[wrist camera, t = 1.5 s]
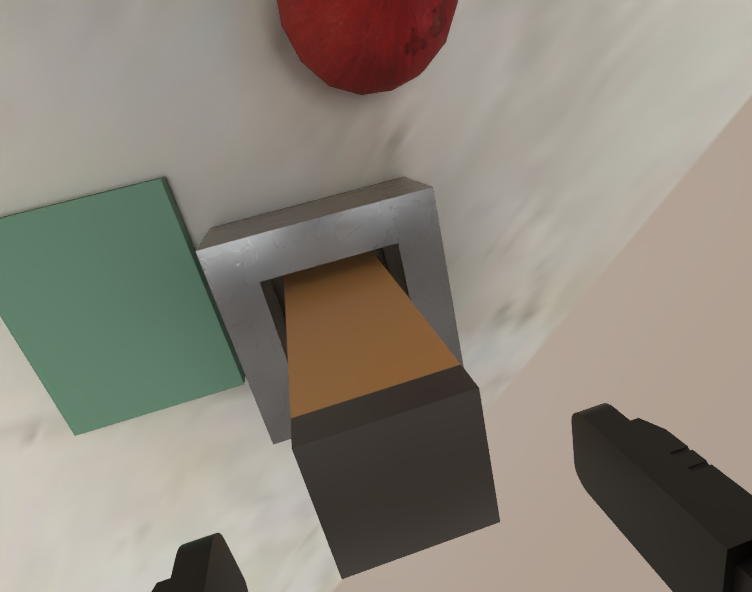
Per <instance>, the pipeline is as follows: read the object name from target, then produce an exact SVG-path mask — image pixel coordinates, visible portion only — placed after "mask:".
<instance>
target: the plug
mask: <svg viewBox="0 0 752 592" xmlns="http://www.w3.org/2000/svg"><path fill="white" fill-rule="evenodd" d="M284 288H285V310H286V331H287V353H288V375H289V397H290V418H291V440H292V450H293V453H294V455H295V458H296V461H297V463H298V466H299V468H300V471H301V474H302V476H303V479H304V482H305V484H306V487H307V489H308V492H309V495H310V497H311V500H312V502H313V505H314V508H315V510H316V513H317V515H318V518H319V521H320V523H321V526H322V528H323V531H324V534H325V536H326V539H327V541H328V544H329V547H330V549H331V552H332V555H333V557H334V560H335V562H336V565H337V568H338V570H339V573H340V575H341V578H342V579H344V578H347V577H349V576H352V575H355V574H358V573H360V572H363V571H366V570H369V569H371V568H374V567H377V566H380V565H382V564H385V563H388V562H391V561H393V560H396V559H399V558H402V557H405V556H407V555H410V554H413V553H416V552H418V551H421V550H424V549H427V548H429V547H432V546H434V545H438V544H440V543H443V542H446V541H448V540H452V539H454V538H457V537H460V536H463V535H465V534H468V533H471V532H474V531H476V530H479V529H482V528H485V527H487V526H490V525H493V524H496V523H498V522H500V518H499V512H498V506H497V499H496V493H495V486H494V480H493V474H492V468H491V461H490V455H489V449H488V442H487V436H486V430H485V424H484V417H483V411H482V404H481V398H480V392H479V387H478V386H477V385H476V383H475V382H474V381H473V380H472V378H471V377H470V376H469V375H468V373H467V372H466V371H465V369H464V368H463V367H462V366H461V364H460V363H459V362H458V360H457V359H456V358H455V357H454V355H453V354H452V353H451V351H450V350H449V349H448V348H447V346H446V345H445V344H444V342H443V341H442V340H441V339H440V337H439V336H438V335H437V333H436V332H435V331H434V330H433V328H432V327H431V326H430V324H429V323H428V322H427V321H426V319H425V318H424V317H423V316H422V314H421V313H420V312H419V310H418V309H417V308H416V307H415V305H414V304H413V303H412V301H411V300H410V299H409V298H408V296H407V295H406V294H405V292H404V291H403V290H402V289H401V287H400V286H399V285H398V283H397V282H396V281H395V280H394V278H393V277H392V276H391V274H390V273H389V272H388V271H387V269H386V268H385V267H384V265H383V264H382V263H381V262H380V260H379V259H378V258H377V257H376V255H375V254H374V253H373V251H368V252H365V253H361V254H357V255H354V256H350V257H347V258H343V259H340V260H336V261H333V262H329V263H325V264H322V265H318V266H315V267H311V268H308V269H304V270H300V271H297V272H293V273H290V274H286V275H284Z"/></svg>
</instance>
